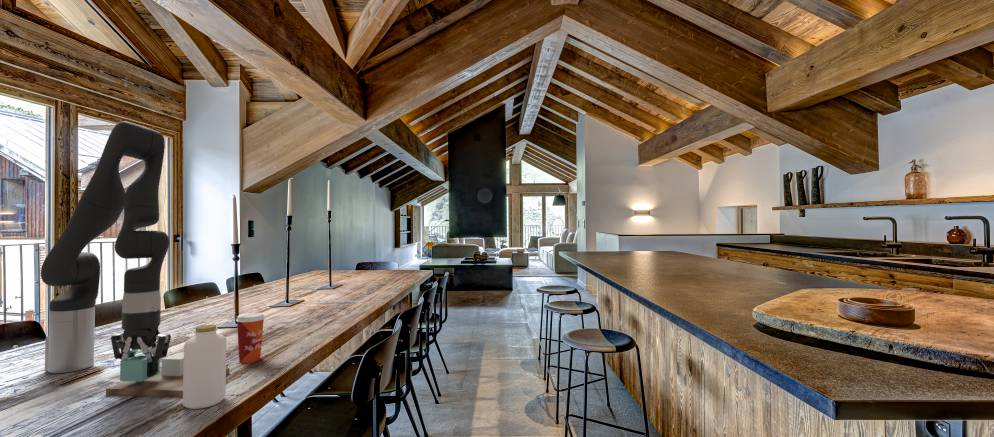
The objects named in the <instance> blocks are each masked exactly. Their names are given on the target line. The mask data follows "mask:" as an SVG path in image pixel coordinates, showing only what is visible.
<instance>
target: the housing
mask: <svg viewBox="0 0 994 437" xmlns="http://www.w3.org/2000/svg"><path fill="white" fill-rule="evenodd" d="M183 364H184V352H176V353H174V354H172V355H169V356H168V355H167V356H166V357H163V358H161V366H162V376H182V375H183Z"/></svg>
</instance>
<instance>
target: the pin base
mask: <svg viewBox="0 0 994 437" xmlns="http://www.w3.org/2000/svg"><path fill="white" fill-rule="evenodd" d="M229 374H230V367H226V376H227V375H229ZM105 396H134V397H135V396H138V397H141V396H142V397H143V396H144V397H172V398H173V397H178V398H183V375H182V376H162V365H161V366H160V373H159V374H157V375H155V376H153V377H151V378H148V379H146V380H144V381H141V382H139V381H120V382H118V383H116V384H114V385H111V386H109V387H106V388H105Z"/></svg>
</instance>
